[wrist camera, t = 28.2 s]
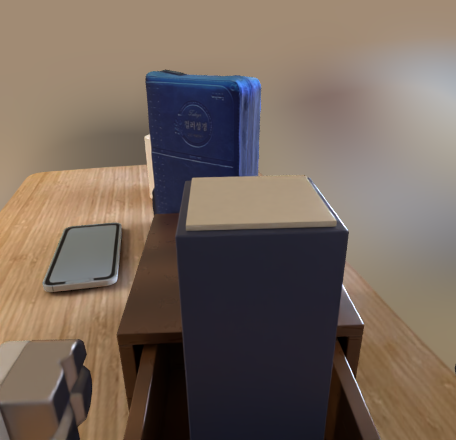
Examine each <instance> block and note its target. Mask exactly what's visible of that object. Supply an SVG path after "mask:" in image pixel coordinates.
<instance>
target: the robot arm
mask: <svg viewBox="0 0 456 440" xmlns="http://www.w3.org/2000/svg"><path fill="white" fill-rule="evenodd" d="M86 355H87V353H86V349H85V345H84V342H83V341H82V340H80V339H68V340H32V341H6V342H5V343H3V344H1V345H0V440H80V437H79V433H78V428H77V427H78V426H79V425H80V424H81V423H82V422H83V421H85V420H86V418H87V415H88V412H89V408H90V404H91V396H92V379H91V373H90V371H89V370H88V369H87V368H86V367H85V366H84V365H83V363H84V360H85V358H86ZM455 372H456V366H455Z"/></svg>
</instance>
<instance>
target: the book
mask: <svg viewBox="0 0 456 440" xmlns="http://www.w3.org/2000/svg"><path fill="white" fill-rule="evenodd" d="M146 90H147V101H148V115H149V129H150V141H151V156H152V169H153V176H154V189H153V191H152V195H153V197H152V200H153V211H154V215H155V214H173V213H180V207H181V202H182V196H183V191H184V185H185V181H192V178H204V177H243V176H258V159H259V132H260V131H259V130H260V110H261V85H260V82H259V80H258V79H257V78H253V77H245V76H236V75H235V76H207V75H187V74H184V73H181V72H176V71H170V70H163V71H157V72H156V71H153V72H149V73H148V74H147V75H146Z"/></svg>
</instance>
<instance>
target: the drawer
mask: <svg viewBox="0 0 456 440" xmlns="http://www.w3.org/2000/svg"><path fill="white" fill-rule="evenodd" d="M124 440H190V429H189V416H188V402H187V389H186V376H185V362H184V349H183V343H165V344H144V347H143V351H142V356H141V361H140V365H139V370H138V375H137V379H136V384H135V389H134V393H133V398H132V402H131V407H130V412H129V416H128V421H127V426H126V430H125V435H124ZM324 440H381V438H380V436H379V434H378V431H377V429H376V427H375V425H374V422H373V420H372V418H371V415H370V413H369V411H368V408H367V406H366V404H365V401H364V399H363V397H362V394H361V392H360V390H359V387H358V385H357V383H356V380H355V378H354V376H353V373H352V371H351V369H350V366H349V364H348V362H347V359H346V357H345V355H344V352H343V350H342V348H341V345H340V343H339V341H338V338H337V337H336V342H335V350H334V358H333V367H332V375H331V383H330V391H329V400H328V408H327V416H326V424H325V433H324Z"/></svg>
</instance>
